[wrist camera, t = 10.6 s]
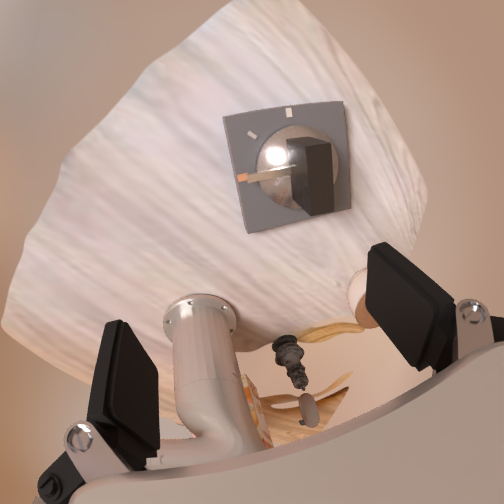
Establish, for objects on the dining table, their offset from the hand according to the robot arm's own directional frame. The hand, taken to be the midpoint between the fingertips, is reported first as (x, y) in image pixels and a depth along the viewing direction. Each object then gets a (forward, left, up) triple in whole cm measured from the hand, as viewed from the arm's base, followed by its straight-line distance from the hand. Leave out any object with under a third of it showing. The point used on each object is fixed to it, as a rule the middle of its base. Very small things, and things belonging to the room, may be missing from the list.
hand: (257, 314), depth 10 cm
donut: (-62, -9, -29) cm, 69 cm away
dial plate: (-3, -11, -29) cm, 31 cm away
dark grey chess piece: (-38, -7, -29) cm, 48 cm away
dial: (-3, -12, -27) cm, 29 cm away
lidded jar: (-28, -23, -29) cm, 47 cm away
